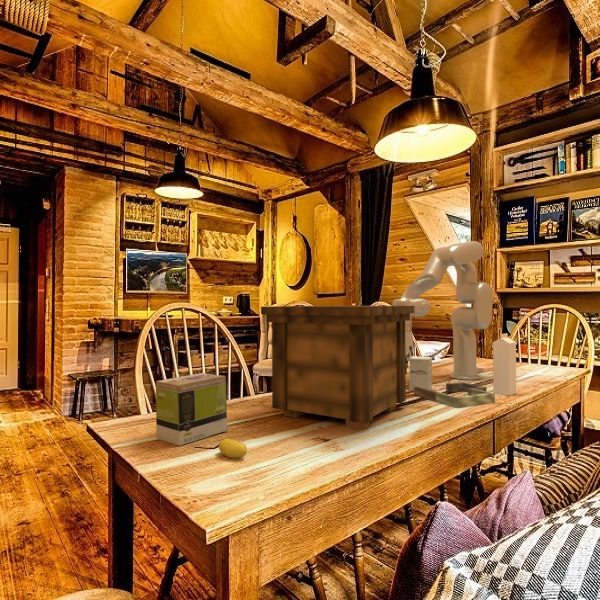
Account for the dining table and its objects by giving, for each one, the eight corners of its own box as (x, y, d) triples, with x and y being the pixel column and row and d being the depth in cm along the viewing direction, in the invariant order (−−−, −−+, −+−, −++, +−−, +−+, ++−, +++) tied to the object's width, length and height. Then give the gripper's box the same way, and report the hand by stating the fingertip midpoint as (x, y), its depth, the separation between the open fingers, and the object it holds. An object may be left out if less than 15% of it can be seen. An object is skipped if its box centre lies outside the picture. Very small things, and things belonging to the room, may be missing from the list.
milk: (516, 393, 155) (516, 333, 155) (509, 395, 151) (510, 334, 151) (499, 390, 159) (499, 332, 159) (492, 393, 155) (492, 333, 155)
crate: (261, 416, 124) (260, 306, 125) (321, 394, 154) (320, 305, 154) (370, 436, 105) (369, 306, 105) (415, 407, 134) (414, 305, 135)
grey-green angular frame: (460, 389, 162) (460, 381, 162) (507, 400, 143) (507, 391, 143) (413, 395, 152) (413, 387, 152) (457, 407, 133) (457, 398, 133)
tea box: (203, 425, 116) (203, 371, 116) (228, 432, 110) (227, 375, 110) (154, 438, 104) (154, 379, 104) (178, 447, 98) (178, 384, 98)
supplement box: (408, 391, 159) (408, 357, 160) (413, 387, 166) (413, 355, 166) (428, 392, 156) (428, 359, 156) (432, 389, 163) (432, 356, 163)
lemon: (228, 450, 96) (228, 433, 96) (251, 458, 91) (251, 440, 91) (213, 455, 93) (213, 437, 93) (236, 464, 88) (236, 445, 88)
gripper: (383, 328, 176) (383, 371, 176) (406, 330, 163) (407, 377, 162) (397, 327, 179) (398, 370, 179) (421, 329, 166) (422, 376, 166)
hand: (402, 373), depth 171 cm, fingers closed
